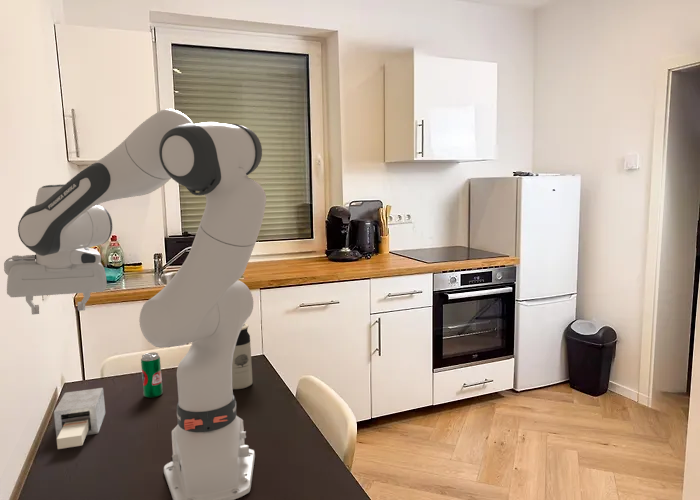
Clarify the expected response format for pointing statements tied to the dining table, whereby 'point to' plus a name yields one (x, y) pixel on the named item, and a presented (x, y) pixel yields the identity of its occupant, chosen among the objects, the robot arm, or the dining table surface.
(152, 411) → the dining table surface
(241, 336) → the white bottle
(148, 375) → the soda can
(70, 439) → the ticket
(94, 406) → the dispenser
